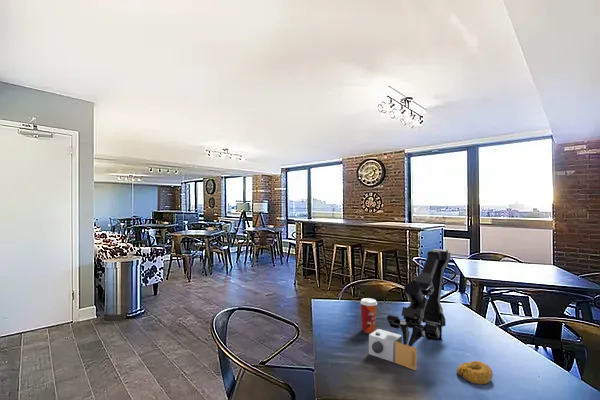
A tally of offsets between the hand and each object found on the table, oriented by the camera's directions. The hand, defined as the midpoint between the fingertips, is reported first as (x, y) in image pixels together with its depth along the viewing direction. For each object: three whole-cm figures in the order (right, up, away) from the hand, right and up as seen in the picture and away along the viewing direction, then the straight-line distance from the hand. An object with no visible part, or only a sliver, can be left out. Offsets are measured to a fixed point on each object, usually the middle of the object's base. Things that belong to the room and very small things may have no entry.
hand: (406, 347), depth 122 cm
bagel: (+21, -7, -7) cm, 23 cm away
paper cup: (-7, -7, +33) cm, 34 cm away
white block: (-5, -7, +9) cm, 12 cm away
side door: (-1, -7, 0) cm, 7 cm away
